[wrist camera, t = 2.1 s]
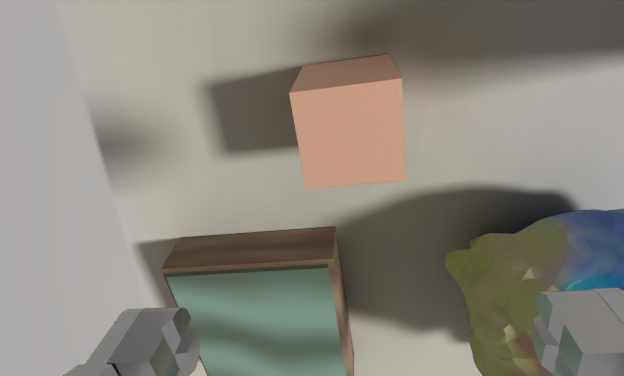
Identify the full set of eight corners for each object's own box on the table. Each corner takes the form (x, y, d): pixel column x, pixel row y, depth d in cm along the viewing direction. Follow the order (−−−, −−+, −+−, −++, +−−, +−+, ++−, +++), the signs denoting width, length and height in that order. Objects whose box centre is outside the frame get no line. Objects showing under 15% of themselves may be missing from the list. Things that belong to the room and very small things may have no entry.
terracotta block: (303, 65, 22) (288, 92, 17) (389, 53, 22) (401, 78, 16) (315, 144, 25) (306, 189, 20) (393, 135, 24) (405, 180, 19)
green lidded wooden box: (181, 237, 29) (158, 272, 26) (335, 226, 28) (332, 262, 24) (227, 357, 36) (213, 397, 33) (353, 354, 34) (354, 397, 31)
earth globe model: (1052, 494, 11) (527, 417, 13) (675, 519, 23) (423, 477, 24) (750, 170, 21) (467, 145, 22) (591, 304, 32) (413, 282, 34)
